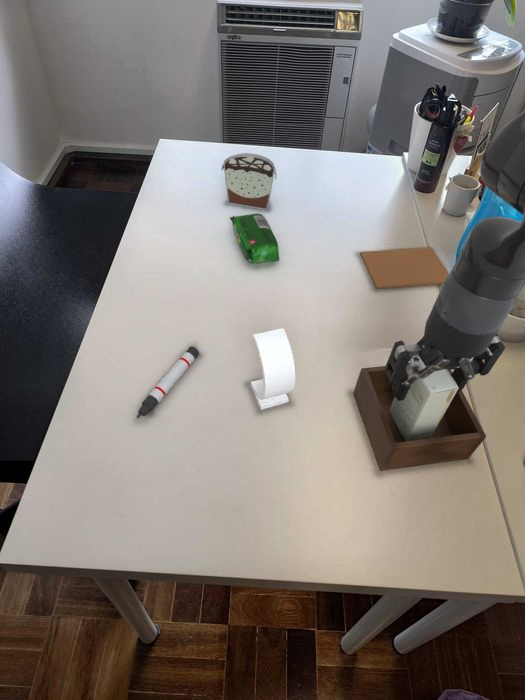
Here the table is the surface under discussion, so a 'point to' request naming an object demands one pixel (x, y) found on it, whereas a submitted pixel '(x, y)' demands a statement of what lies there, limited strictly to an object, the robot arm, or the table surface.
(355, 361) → the table surface
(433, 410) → the cosmetic box
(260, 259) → the snack package
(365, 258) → the mat
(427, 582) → the table surface
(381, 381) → the compartment
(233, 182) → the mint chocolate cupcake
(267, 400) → the headphone stand
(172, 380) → the marker
